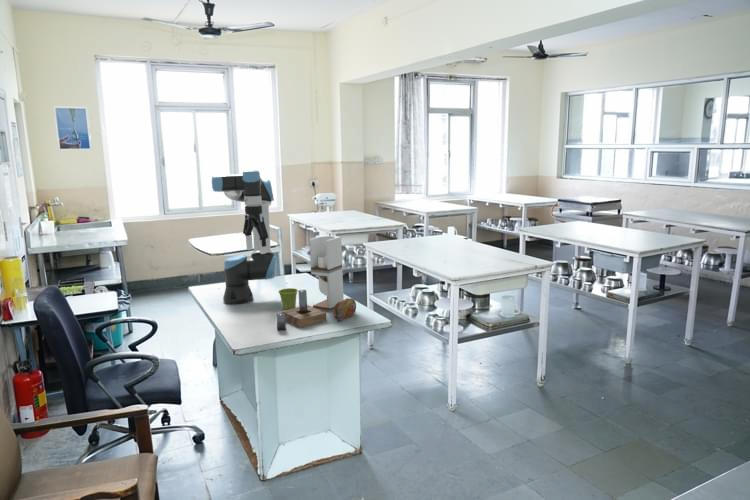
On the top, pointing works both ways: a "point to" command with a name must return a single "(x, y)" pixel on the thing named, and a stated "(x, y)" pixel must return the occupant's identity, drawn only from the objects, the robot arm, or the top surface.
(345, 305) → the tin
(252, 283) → the top surface
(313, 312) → the hole block
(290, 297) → the plant pot
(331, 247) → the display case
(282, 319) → the short pin
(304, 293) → the tall pin
